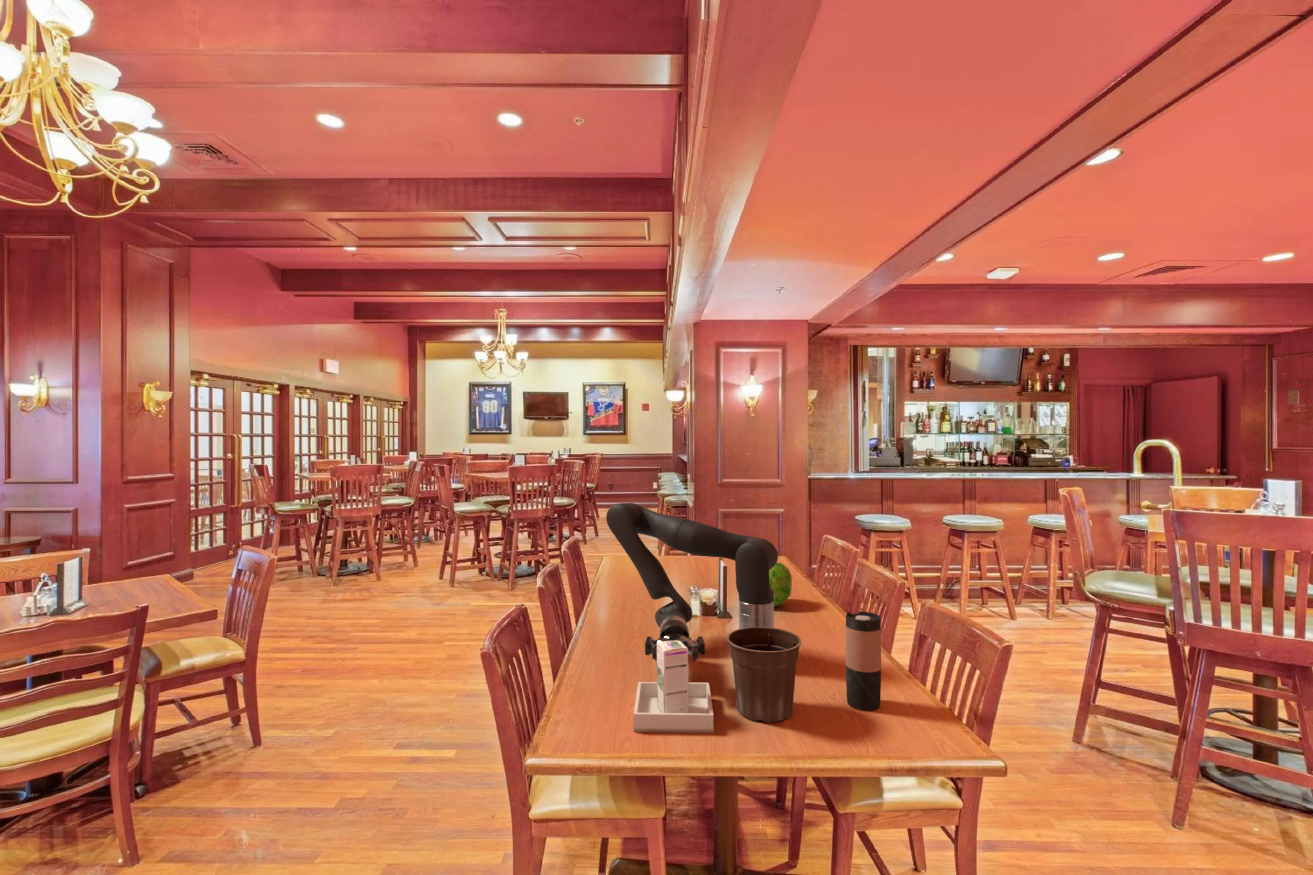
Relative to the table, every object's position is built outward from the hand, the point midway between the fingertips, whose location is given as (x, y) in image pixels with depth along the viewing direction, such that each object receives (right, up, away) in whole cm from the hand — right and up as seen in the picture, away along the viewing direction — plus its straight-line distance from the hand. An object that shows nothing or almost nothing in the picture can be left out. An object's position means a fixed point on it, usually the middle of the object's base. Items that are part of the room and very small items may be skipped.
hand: (675, 656), depth 136 cm
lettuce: (+36, -11, +80) cm, 88 cm away
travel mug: (+43, -10, -1) cm, 44 cm away
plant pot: (+19, -11, -5) cm, 23 cm away
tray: (-1, -10, -6) cm, 12 cm away
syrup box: (-1, -10, -6) cm, 11 cm away
